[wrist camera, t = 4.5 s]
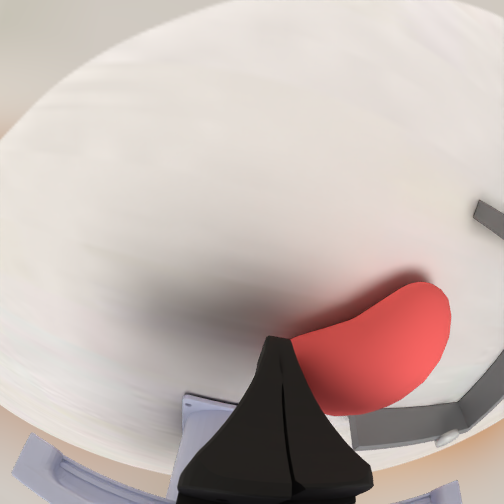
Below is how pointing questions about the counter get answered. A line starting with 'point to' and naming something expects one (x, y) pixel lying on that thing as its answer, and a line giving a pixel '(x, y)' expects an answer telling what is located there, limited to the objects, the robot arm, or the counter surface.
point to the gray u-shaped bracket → (436, 416)
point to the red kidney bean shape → (376, 351)
